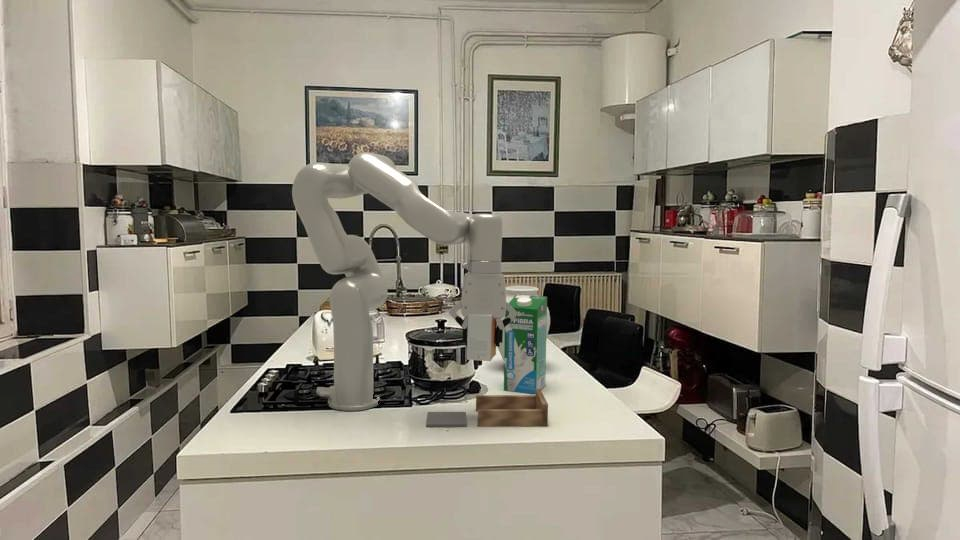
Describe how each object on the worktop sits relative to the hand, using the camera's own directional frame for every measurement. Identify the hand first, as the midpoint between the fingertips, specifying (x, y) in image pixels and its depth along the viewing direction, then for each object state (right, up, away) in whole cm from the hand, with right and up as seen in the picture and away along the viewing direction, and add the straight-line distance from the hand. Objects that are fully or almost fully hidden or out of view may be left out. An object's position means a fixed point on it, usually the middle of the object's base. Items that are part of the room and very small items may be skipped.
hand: (482, 344), depth 148 cm
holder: (+7, -17, +2) cm, 19 cm away
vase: (+12, -13, +49) cm, 52 cm away
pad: (-8, -17, -1) cm, 19 cm away
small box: (0, -3, 0) cm, 3 cm away
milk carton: (+12, -15, +27) cm, 33 cm away
